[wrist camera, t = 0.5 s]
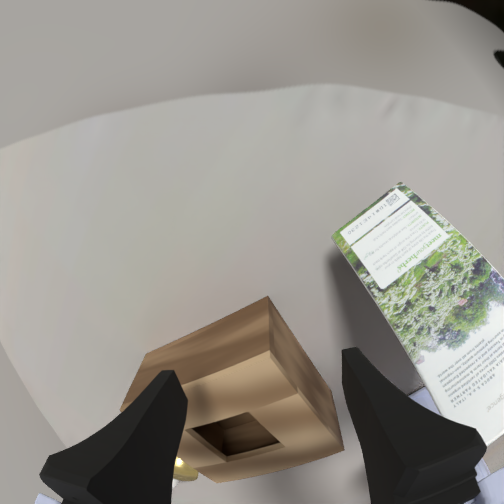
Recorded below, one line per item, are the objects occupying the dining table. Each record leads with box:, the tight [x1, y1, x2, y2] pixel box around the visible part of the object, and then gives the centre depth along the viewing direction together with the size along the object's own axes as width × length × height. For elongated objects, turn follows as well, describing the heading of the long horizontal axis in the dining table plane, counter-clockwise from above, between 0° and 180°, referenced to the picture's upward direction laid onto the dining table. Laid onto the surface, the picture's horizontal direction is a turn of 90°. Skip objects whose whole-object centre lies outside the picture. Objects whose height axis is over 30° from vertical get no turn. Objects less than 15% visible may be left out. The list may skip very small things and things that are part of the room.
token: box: [173, 457, 198, 481], centre depth 26 cm, size 4×4×5 cm
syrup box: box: [332, 182, 504, 446], centre depth 13 cm, size 6×6×14 cm
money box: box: [120, 296, 344, 483], centre depth 21 cm, size 12×12×7 cm
